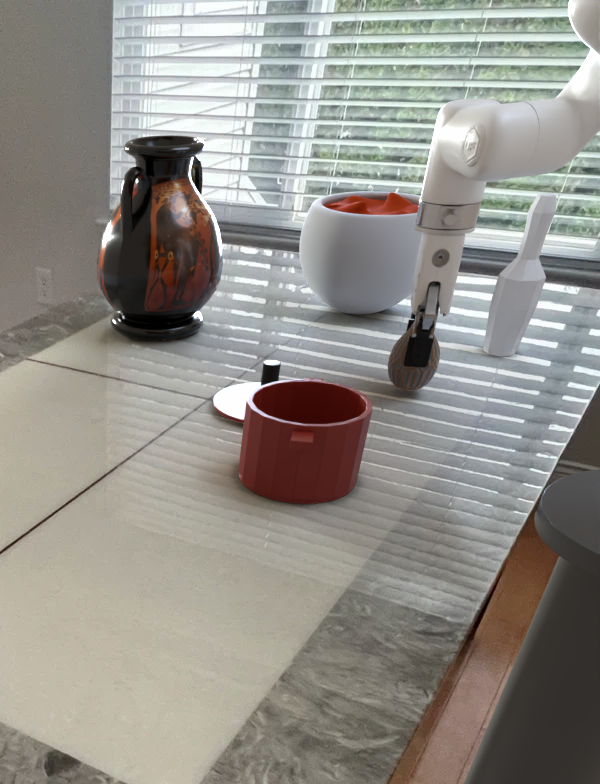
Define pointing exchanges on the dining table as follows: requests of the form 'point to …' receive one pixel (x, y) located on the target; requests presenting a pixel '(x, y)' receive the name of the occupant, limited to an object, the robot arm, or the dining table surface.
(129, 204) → the amphora vase
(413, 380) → the vase
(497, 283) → the low poly bottle
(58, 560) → the dining table surface
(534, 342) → the dining table surface
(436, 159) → the robot arm
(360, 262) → the pot
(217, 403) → the lid
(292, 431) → the enamel pot
